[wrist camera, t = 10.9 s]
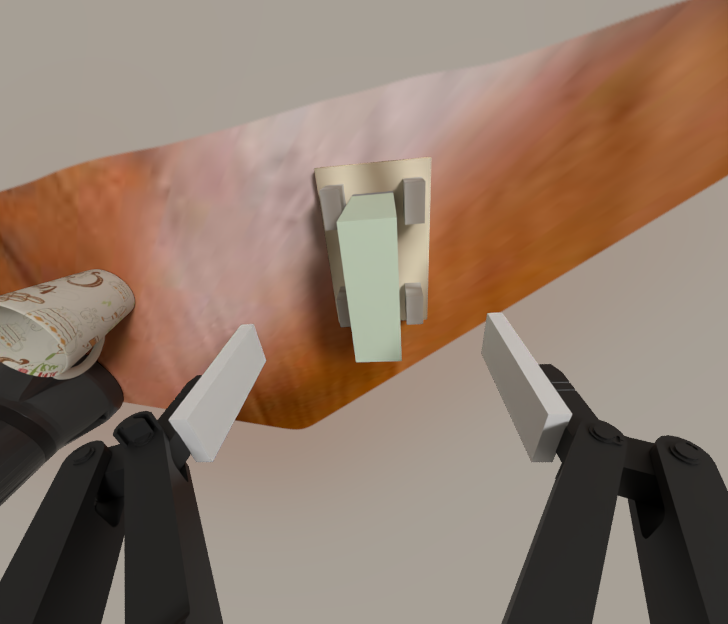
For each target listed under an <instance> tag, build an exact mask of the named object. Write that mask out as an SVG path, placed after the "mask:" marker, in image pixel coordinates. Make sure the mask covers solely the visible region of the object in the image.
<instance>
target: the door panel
mask: <svg viewBox="0 0 728 624" xmlns="http://www.w3.org/2000/svg"><path fill="white" fill-rule="evenodd" d="M337 229H338V237H339V244H340V251H341V258H342V265H343V272H344V279H345V287H346V294H347V301H348V308H349V315H350V322H351V329H352V337H353V344H354V351H355V358H356V362H382V361H402V358H401V329H400V300H399V271H398V242H397V216H396V209H395V201H394V194H393V191H387V192H375V193H364V194H353V195H352V197H351V199H350V200H349V202H348V204H347V205H346V207H345V209H344V210H343V212H342V214H341V215H340V217H339V219H338V220H337Z"/></svg>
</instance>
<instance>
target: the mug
mask: <svg viewBox="0 0 728 624" xmlns="http://www.w3.org/2000/svg"><path fill="white" fill-rule="evenodd" d="M134 305H135V298H134V295H133V293H132V291H131V289H130V288H129V287H128V285H127V284H126V283H125V282H124V281H123V280H121V279H120V278H119V277H117V276H116V275H114V274H112V273H110V272H107V271H104V270H99V269H94V270H88V271H84V272H81V273H77V274H74V275H70V276H67V277H63V278H60V279H56V280H53V281H49V282H46V283H42V284H39V285H35V286H32V287H28V288H25V289H21V290H18V291H14V292H11V293H7V294H4V295H0V362H1V363H3V364H5V365H7V366H9V367H11V368H13V369H15V370H18V371H20V372H23V373H26V374H29V375H34V376H39V377H53V378H55V379H59V380H63V379H70V378H74V377H76V376H79V375H80V374H82V373H84V372H85V371H87V370H88V369H89V368H90V367H91V366H92V365H93V364H94V363H95V362H96V360H97V359H98V357H99V355H100V353H101V351H102V348H103V345H104V341H105V335H106V334H107V333H108V332H109V331H110V330H111V329H113V328H114V327H115V326H116V325H117V324H118V323H119V322H120V321H121V320H122V319H123V318H124V317H125V316H127V315H128V314H129V313H130V312H131V311H132V309H133V308H134ZM93 346H94V347H93ZM92 347H93V349H92V351H91V353H90V354H89V356H88V357H87V358H86V359H85V360H84V361H83V362H82V363H81V364H79V365H78V366H75V367H72V366H73V365H74V364H75V363H76V362H77V361H78V360H79V359H80V358H81V357H82V356H84V355H85V354H86V353H87V352H88V351H89V350H90V349H91V348H92ZM70 367H72V368H70Z"/></svg>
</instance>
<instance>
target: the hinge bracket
mask: <svg viewBox="0 0 728 624" xmlns="http://www.w3.org/2000/svg"><path fill="white" fill-rule="evenodd" d="M314 171H315V177H316V183H317V189H318V196H319V202H320V208H321V214H322V220H323V227H324V233H325V239H326V245H327V251H328V258H329V264H330V270H331V276H332V283H333V289H334V295H335V301H336V307H337V314H338V320H339V323H340V326H341V327H351V322H350V315H349V308H348V301H347V294H346V287H345V279H344V272H343V265H342V258H341V251H340V244H339V237H338V229H337V220H338V219H339V217H340V215H341V214H342V212H343V210H344V209H345V207H346V205H347V204H348V202H349V200H350V199H351V197H352V195H353V194H364V193H375V192H387V191H393V194H394V201H395V209H396V216H397V242H398V271H399V300H400V320H406V321H407V325H408V324H423V319H427V303H428V265H429V227H430V189H431V157H423V158H413V159H403V160H392V161H382V162H372V163H362V164H351V165H341V166H331V167H321V168H315V169H314Z"/></svg>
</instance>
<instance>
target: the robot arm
mask: <svg viewBox="0 0 728 624" xmlns="http://www.w3.org/2000/svg"><path fill="white" fill-rule="evenodd" d="M481 354H482V356H483V358H484V360H485V362H486V364H487V366H488V369H489V371H490V373H491V375H492V377H493V380H494V382H495V384H496V386H497V388H498V391H499V393H500V395H501V397H502V399H503V401H504V403H505V406H506V408H507V410H508V412H509V414H510V417H511V419H512V421H513V422H514V425H515V427H516V430H517V431H518V434H519V436H520V438H521V440H522V442H523V445H524V447H525V449H526V451H527V453H528V455H529V458H530V460H531V462H553V459H554V457H555V455H556V453H557V455H558V457H559V458H560V460H561V462H562V464H561V466H560V469H559V471H558V473H557V475H556V478H555V479H556V480H555V483H554V485H553V488H552V490H551V493H550V496H549V499H548V501H547V504H546V506H545V509H544V512H543V514H542V517H541V520H540V523H539V525H538V528H537V530H536V533H535V536H534V539H533V541H532V544H531V547H530V549H529V552H528V554H527V557H526V560H525V563H524V565H523V568H522V570H521V573H520V576H519V578H518V581H517V584H516V587H515V589H514V592H513V594H512V597H511V600H510V603H509V605H508V608H507V610H506V613H505V616H504V619H503V621H502V624H592V620H593V615H594V610H595V605H596V600H597V595H598V590H599V585H600V580H601V575H602V570H603V565H604V560H605V555H606V550H607V545H608V540H609V535H610V530H611V525H612V520H613V515H614V510H615V505H616V500H617V495H618V496H622V497H625V498H628V503H629V509H630V514H631V519H632V525H633V531H634V536H635V542H636V547H637V553H638V558H639V563H640V569H641V575H642V581H643V586H644V592H645V597H646V603H647V608H648V613H649V619H650V624H728V491H727V488H726V486H725V484H724V482H723V480H722V478H721V475H720V473H719V471H718V469H717V466H716V464H715V462H714V461H713V460H712V458H711V457H710V455H709V454H707V453H706V452H705V451H704V450H703V449H701V448H700V447H698V446H697V445H695V444H693V443H691V442H690V441H687V440H685V439H682V438H679V437H674V436H669V435H667V436H661V437H660V438H658V439H657V440H656V442H655V443H651V442H646V441H642V440H638V439H634V438H629V437H626V436H624V435H623V434H622V433H621V432H620V431H619V430H618V429H617V428H615V427H614V426H612V425H610V424H609V423H607V422H604V421H601V420H599V419H598V418H597V417H596V416H595V414H594V413H593V412H592V411H591V409H590V408H589V407H588V405H587V404H586V403H585V401H584V400H583V399H582V398H581V396H580V395H579V394H578V393H577V391H575V389H574V387H573V386H572V385H571V383H569V381H568V379H567V378H566V377H565V375H564V374H563V373H562V372H561V371H559V370H558V369H557V368H555V367H554V366H553V365H551V364H540V365H538V364H537V362H536V361H535V359H534V358H533V356H532V355H531V354H530V353H529V351H528V349H527V348H526V346H525V345H524V343H523V342H522V340H521V339H520V338H519V336H518V335H517V333H516V332H515V331H514V329H513V328H512V326H511V325H510V323H509V322H508V320H507V319H506V317H505V316H504V314H503V313H502V312H501V313H487V319H486V326H485V332H484V338H483V345H482V352H481ZM87 357H88V356H86V355H84V356H82V357H81V358H80V359H79V360H78V361H77V362H76V363H75V364H74V365H73V366H72V367H75V366H78V365H79V364H81V363H82V362H83V361H84V360H85V359H86V358H87ZM265 362H266V359H265V356H264V353H263V350H262V347H261V344H260V341H259V338H258V335H257V332H256V329H255V327H254V324H245V325H240V327H239V328H238V329H237V331H236V332H235V333H234V335H233V336H232V337H231V339H230V340H229V341H228V342H227V344H226V345H225V346H224V348H223V349H222V350H221V352H220V353H219V354H218V356H217V357H216V358H215V359H214V361H213V362H212V363H211V365H210V366H209V367H208V369H207V370H206V371H205V373H204V374H203V375H197V376H196V377H195V378H193V379H192V380H191V381H189V382H188V383H187V384H186V385H185V387H184V388H183V389H182V390H181V393H179V394H178V395H177V397H176V398H175V400H173V402H172V403H171V404H170V405H169V407H168V408H167V409H166V410H165V412H164V413H163V414H162V415H161V417H160V418H159V419H158V420H156V418H155V417H154V415H153V414H152V412H148V411H143V412H139V413H136V414H133V415H131V416H129V417H128V418H126V419H125V420H123V421H122V422H121V423H120V424H119V425H118V426H117V427H116V429H115V430H114V433H113V436H114V437H115V438H116V439H117V441H118V442H119V443H120V444H118V445H115V446H111V447H107V446H106V445H105V444H104V443H103V442H102V441H93V442H89V443H87V444H85V445H82V446H81V447H79V448H77V449H76V450H75V451H73V452H72V453H71V454H70V455H69V456H68V457H67V458H66V459H65V461H64V462H63V463H62V465H61V467H60V469H59V471H58V473H57V475H56V476H55V478H54V480H53V482H52V484H51V486H50V488H49V490H48V492H47V494H46V496H45V497H44V499H43V501H42V503H41V505H40V507H39V509H38V511H37V513H36V515H35V517H34V518H33V520H32V522H31V524H30V526H29V528H28V530H27V532H26V533H25V536H24V537H23V539H22V541H21V543H20V545H19V547H18V549H17V551H16V553H15V554H14V556H13V558H12V560H11V562H10V564H9V566H8V568H7V570H6V571H5V573H4V575H3V577H2V579H1V581H0V624H101V622H102V618H103V614H104V610H105V607H106V603H107V599H108V595H109V591H110V588H111V584H112V580H113V576H114V572H115V569H116V565H117V561H118V557H119V553H120V550H121V545H122V542H123V538H124V534H125V624H223V620H222V616H221V612H220V607H219V602H218V598H217V593H216V589H215V584H214V580H213V575H212V570H211V566H210V561H209V557H208V552H207V548H206V543H205V538H204V534H203V529H202V525H201V520H200V516H199V511H198V507H197V502H196V497H195V493H194V488H193V484H192V480H191V475H190V470H189V466H188V465H187V463H186V460H187V459H188V458H189V456H190V454H191V455H192V456H193V458H194V459H195V461H196V462H213V461H214V459H215V457H216V455H217V453H218V451H219V449H220V447H221V445H222V443H223V442H224V440H225V438H226V436H227V434H228V432H229V430H230V428H231V426H232V425H233V423H234V421H235V419H236V417H237V415H238V413H239V411H240V409H241V407H242V406H243V404H244V402H245V400H246V398H247V396H248V394H249V392H250V390H251V388H252V387H253V385H254V383H255V381H256V379H257V377H258V375H259V373H260V371H261V369H262V368H263V366H264V364H265ZM72 367H70V368H72ZM122 403H123V394H122V391H121V388H120V386H119V385H118V383H117V381H116V380H115V379H114V378H113V376H112V375H111V374H110V373H109V372H108V371H107V370H106V369H105V368H103V367H102V366H101V365H100V364H99V363H97V362H95V363H94V364H93V365H92V366H91V367H90V368H89V369H88V370H87V371H85V372H84V373H82V374H80V375H79V376H76V377H74V378H70V379H63V380H59V379H55V378H53V377H39V376H34V375H29V374H26V373H23V372H20V371H18V370H15V369H13V368H11V367H9V366H7V365H5V364H3V363H1V362H0V506H1V505H2V504H3V503H4V502H5V501H6V500H7V499H8V498H9V497H10V496H11V495H12V494H13V493H14V492H15V491H16V490H17V489H18V488H19V487H21V485H23V484H24V483H25V482H26V481H27V480H28V479H29V478H30V477H31V476H32V475H33V474H34V473H35V472H36V471H37V470H38V469H39V468H40V467H41V466H42V465H43V464H44V463H45V462H46V461H47V460H48V459H50V457H52V456H53V455H54V454H55V453H56V452H57V451H58V450H59V449H61V448H62V447H64V446H66V445H67V444H69V443H71V442H72V441H74V440H76V439H77V438H79V437H81V436H83V435H84V434H86V433H88V432H89V431H91V430H93V429H94V428H96V427H98V426H100V425H101V424H103V423H104V422H106V421H107V420H108V419H110V417H112V415H113V414H114V413H115V412H116V411H117V410H118V409H119V408H120V407H121V405H122Z"/></svg>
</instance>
